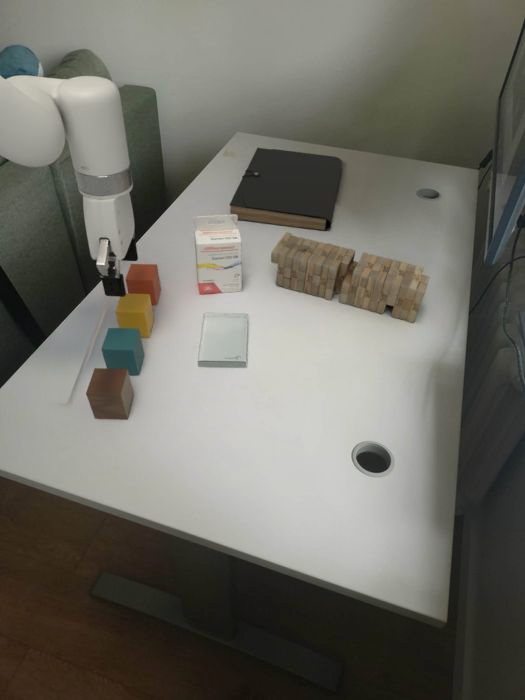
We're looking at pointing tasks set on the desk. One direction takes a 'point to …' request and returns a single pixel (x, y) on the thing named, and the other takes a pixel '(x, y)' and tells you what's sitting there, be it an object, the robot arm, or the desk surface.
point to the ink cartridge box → (218, 254)
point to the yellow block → (136, 313)
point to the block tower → (349, 276)
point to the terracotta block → (144, 281)
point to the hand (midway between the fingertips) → (122, 276)
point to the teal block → (123, 349)
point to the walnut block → (110, 393)
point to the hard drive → (223, 340)
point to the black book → (288, 189)
